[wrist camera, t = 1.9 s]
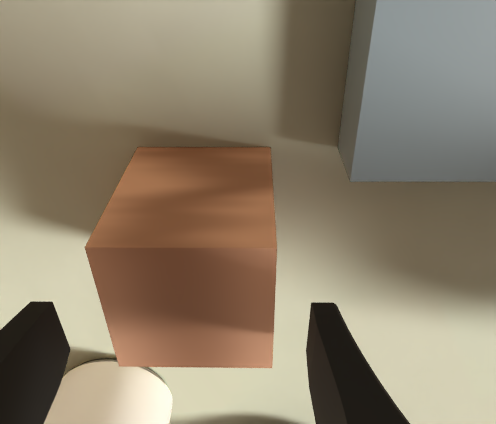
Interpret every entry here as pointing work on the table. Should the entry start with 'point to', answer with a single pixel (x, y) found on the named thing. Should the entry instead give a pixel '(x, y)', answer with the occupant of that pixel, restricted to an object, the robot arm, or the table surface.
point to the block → (189, 258)
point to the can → (111, 396)
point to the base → (421, 92)
